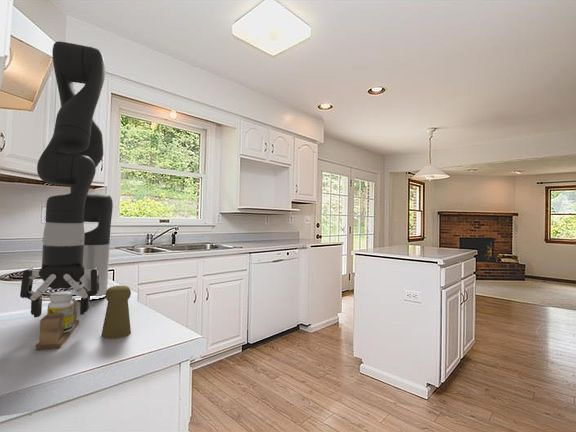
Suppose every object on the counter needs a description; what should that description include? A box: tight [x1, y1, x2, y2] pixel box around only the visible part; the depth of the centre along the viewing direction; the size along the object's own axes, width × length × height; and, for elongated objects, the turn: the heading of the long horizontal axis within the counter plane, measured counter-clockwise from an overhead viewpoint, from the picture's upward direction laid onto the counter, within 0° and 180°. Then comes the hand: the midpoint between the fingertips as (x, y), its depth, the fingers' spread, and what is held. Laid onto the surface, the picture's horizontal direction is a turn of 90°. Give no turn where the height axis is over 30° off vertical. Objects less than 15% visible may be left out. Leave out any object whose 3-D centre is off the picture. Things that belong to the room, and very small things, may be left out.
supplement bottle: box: [46, 291, 74, 333], centre depth 71 cm, size 5×5×8 cm
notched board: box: [35, 299, 80, 351], centre depth 71 cm, size 15×4×6 cm, turn 21°
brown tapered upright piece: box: [101, 285, 132, 340], centre depth 73 cm, size 6×6×11 cm
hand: (60, 315), depth 71 cm, fingers open, 8 cm apart
